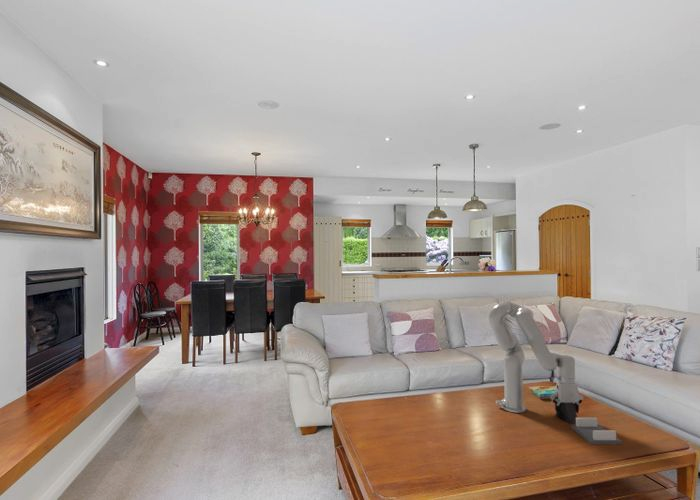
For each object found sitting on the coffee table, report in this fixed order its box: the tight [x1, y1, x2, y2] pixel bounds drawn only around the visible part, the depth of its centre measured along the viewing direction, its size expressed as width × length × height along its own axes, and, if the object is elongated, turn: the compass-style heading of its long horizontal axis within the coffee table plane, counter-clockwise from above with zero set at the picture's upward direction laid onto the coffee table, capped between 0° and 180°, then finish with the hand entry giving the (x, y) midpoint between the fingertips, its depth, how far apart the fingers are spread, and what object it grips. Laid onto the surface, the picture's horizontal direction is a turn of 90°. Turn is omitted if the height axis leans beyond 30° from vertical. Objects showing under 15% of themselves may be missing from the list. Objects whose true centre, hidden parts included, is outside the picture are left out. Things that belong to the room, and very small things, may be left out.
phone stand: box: [554, 402, 578, 425], centre depth 198 cm, size 9×6×12 cm, turn 19°
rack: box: [570, 416, 622, 445], centre depth 181 cm, size 14×16×6 cm
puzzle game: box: [528, 385, 557, 400], centre depth 230 cm, size 12×5×20 cm
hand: (567, 412), depth 198 cm, fingers open, 9 cm apart
